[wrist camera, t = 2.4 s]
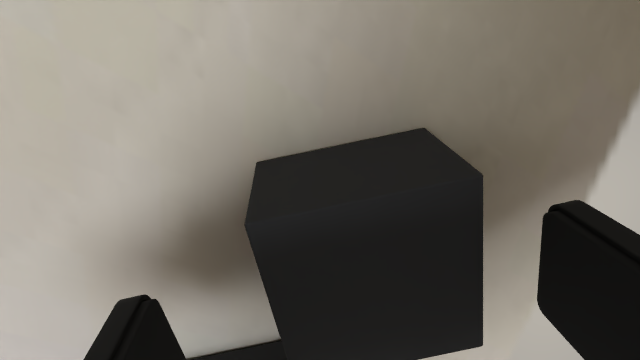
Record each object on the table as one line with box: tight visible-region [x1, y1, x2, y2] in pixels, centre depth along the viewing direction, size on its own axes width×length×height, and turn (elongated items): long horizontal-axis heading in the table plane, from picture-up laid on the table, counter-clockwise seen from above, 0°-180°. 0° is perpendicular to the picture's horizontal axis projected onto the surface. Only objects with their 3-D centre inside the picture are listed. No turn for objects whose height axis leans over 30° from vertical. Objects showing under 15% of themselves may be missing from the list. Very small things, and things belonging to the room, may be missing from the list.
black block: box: [245, 128, 483, 360], centre depth 10 cm, size 5×5×4 cm
